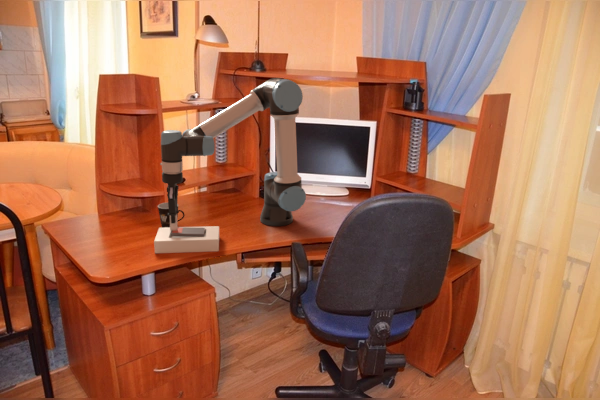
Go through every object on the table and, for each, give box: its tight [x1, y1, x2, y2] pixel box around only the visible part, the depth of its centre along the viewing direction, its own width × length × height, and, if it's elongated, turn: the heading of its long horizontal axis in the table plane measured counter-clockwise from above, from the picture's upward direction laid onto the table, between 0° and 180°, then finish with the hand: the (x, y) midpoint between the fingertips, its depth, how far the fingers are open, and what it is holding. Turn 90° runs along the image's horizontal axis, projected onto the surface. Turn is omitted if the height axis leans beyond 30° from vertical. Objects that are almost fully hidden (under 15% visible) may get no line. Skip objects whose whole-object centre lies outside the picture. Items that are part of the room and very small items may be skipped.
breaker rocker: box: [171, 226, 205, 237], centre depth 175 cm, size 13×7×1 cm, turn 99°
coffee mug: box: [157, 202, 186, 228], centre depth 192 cm, size 12×9×10 cm
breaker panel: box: [153, 225, 220, 254], centre depth 176 cm, size 24×14×5 cm, turn 99°
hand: (173, 229), depth 174 cm, fingers closed
